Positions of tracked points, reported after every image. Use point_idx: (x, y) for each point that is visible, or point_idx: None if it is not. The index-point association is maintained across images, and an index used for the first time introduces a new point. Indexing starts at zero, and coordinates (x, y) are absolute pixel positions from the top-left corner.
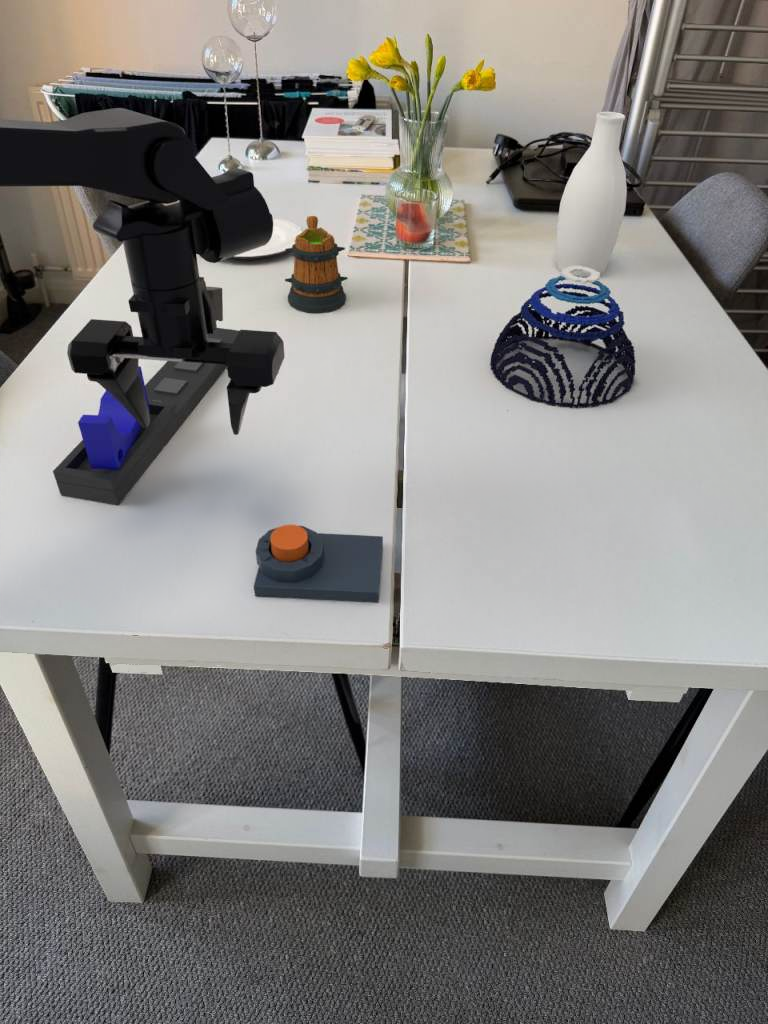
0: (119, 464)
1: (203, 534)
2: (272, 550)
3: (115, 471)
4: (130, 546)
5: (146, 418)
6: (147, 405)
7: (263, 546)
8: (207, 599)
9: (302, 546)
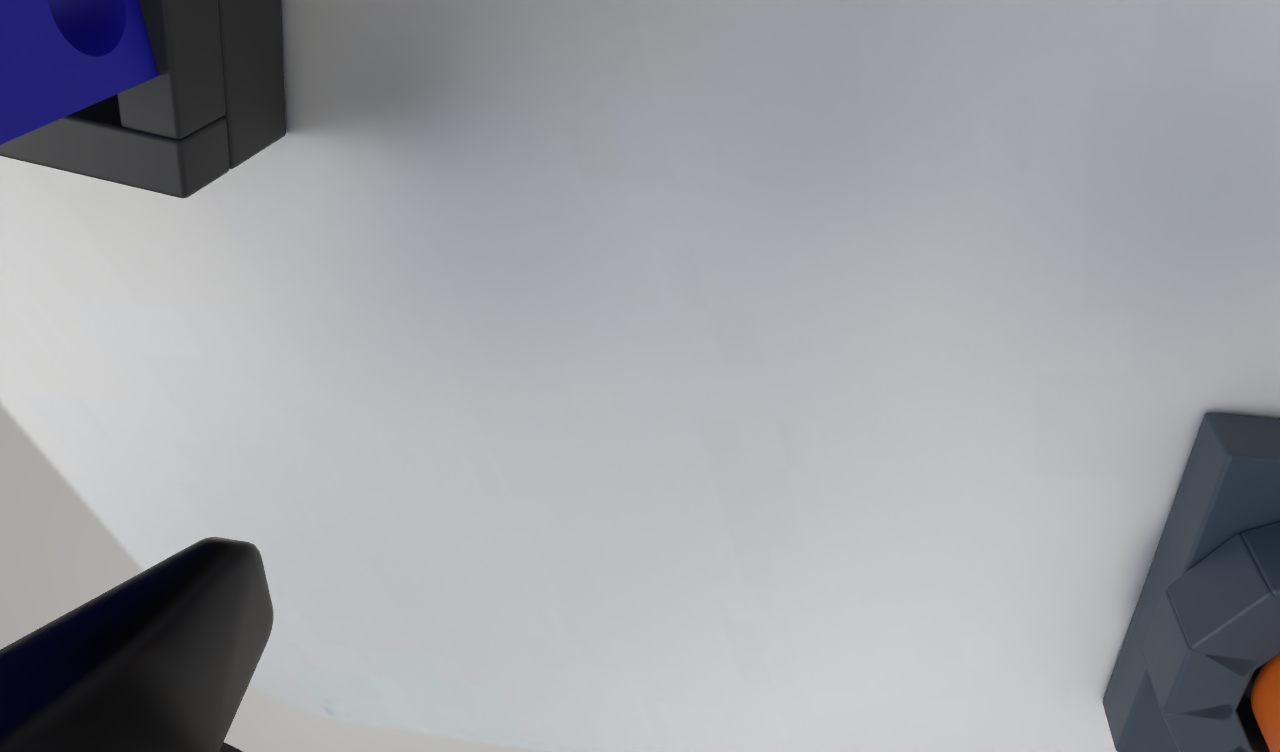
0: (134, 45)
1: (823, 358)
2: (1265, 739)
3: (149, 95)
4: (487, 424)
5: (215, 671)
6: (107, 683)
7: (1212, 690)
8: (896, 693)
9: None
